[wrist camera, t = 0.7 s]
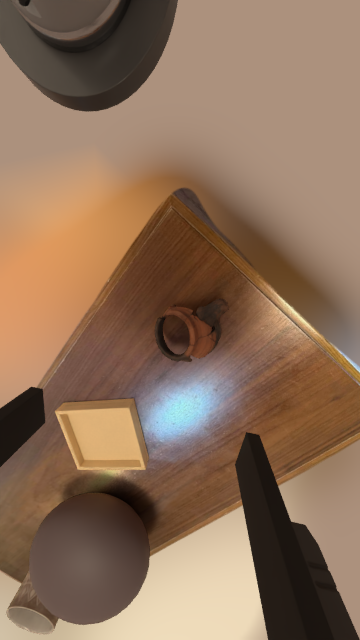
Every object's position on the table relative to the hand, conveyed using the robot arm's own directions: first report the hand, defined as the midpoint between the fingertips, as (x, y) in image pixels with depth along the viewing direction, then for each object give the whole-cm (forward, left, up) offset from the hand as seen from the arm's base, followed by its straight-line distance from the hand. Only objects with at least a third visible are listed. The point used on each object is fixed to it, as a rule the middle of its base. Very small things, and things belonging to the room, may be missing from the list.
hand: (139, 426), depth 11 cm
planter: (+68, -47, -20) cm, 85 cm away
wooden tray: (+21, -19, -20) cm, 34 cm away
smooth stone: (+45, -25, -20) cm, 55 cm away
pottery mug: (-1, +3, -20) cm, 20 cm away
